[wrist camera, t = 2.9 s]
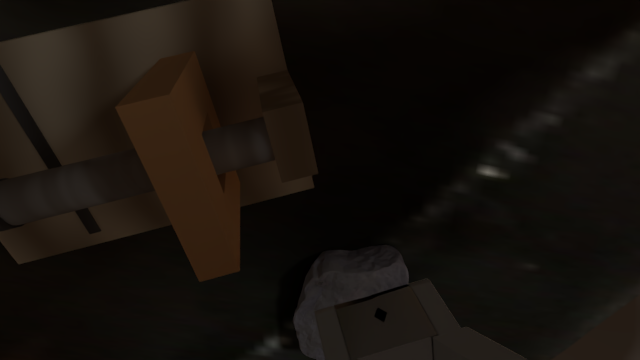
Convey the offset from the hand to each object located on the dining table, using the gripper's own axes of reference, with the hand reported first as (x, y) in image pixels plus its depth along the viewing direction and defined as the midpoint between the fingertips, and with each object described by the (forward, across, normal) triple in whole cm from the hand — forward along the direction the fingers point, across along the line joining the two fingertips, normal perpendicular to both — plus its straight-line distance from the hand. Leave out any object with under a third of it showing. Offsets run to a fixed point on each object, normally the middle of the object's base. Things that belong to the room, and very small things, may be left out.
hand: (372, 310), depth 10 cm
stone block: (+20, -1, +20) cm, 29 cm away
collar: (+17, +6, 0) cm, 18 cm away
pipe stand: (+20, +10, 0) cm, 22 cm away
